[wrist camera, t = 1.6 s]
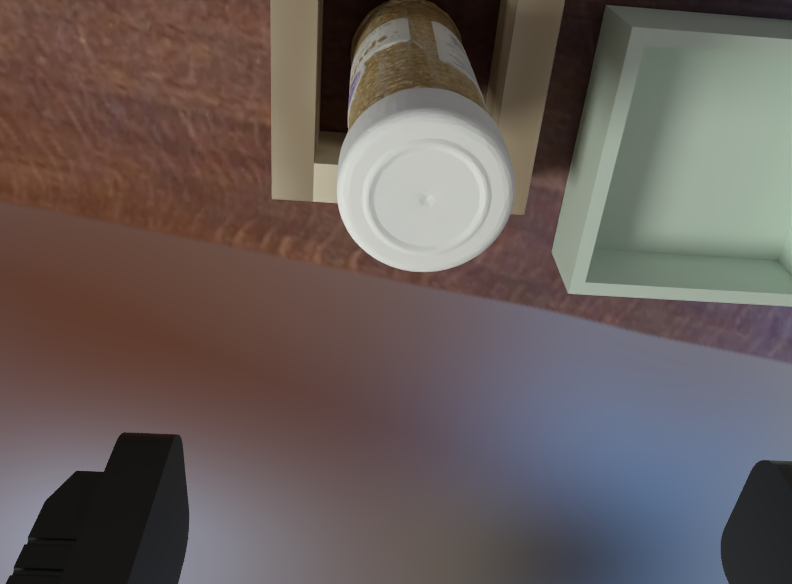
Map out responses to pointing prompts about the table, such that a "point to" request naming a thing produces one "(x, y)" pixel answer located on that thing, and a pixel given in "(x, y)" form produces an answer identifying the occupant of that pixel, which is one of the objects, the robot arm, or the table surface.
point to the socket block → (319, 150)
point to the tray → (683, 161)
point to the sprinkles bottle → (420, 144)
